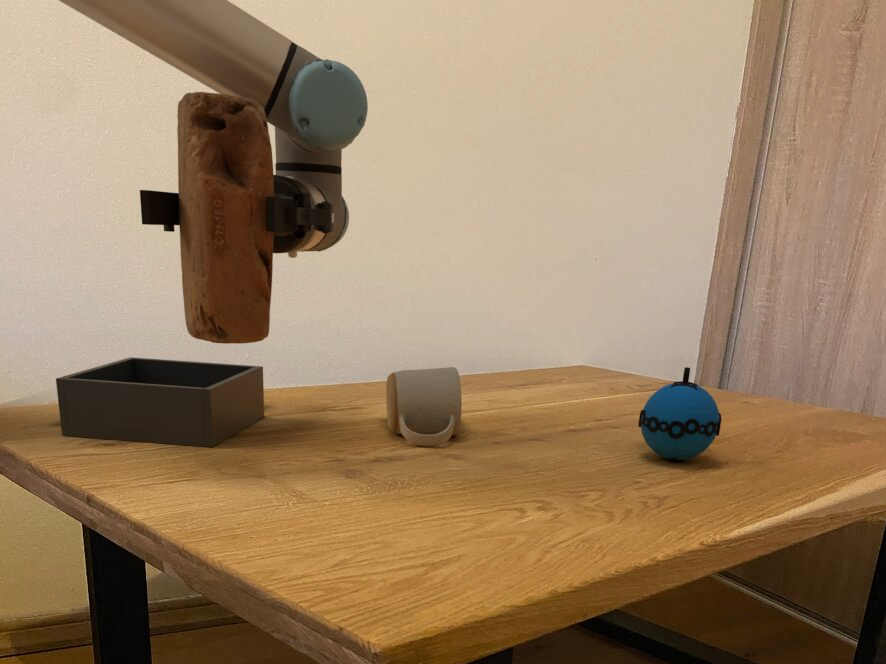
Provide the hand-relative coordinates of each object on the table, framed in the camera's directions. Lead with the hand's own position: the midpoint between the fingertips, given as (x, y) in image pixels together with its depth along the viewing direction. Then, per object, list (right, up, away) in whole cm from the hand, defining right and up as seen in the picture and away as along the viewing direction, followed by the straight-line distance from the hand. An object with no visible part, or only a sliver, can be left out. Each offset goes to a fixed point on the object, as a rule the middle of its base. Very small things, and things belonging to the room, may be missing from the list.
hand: (207, 210), depth 78 cm
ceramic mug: (+18, -14, +29) cm, 37 cm away
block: (0, -9, +8) cm, 12 cm away
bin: (-11, -13, +28) cm, 33 cm away
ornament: (+45, -18, +24) cm, 54 cm away
